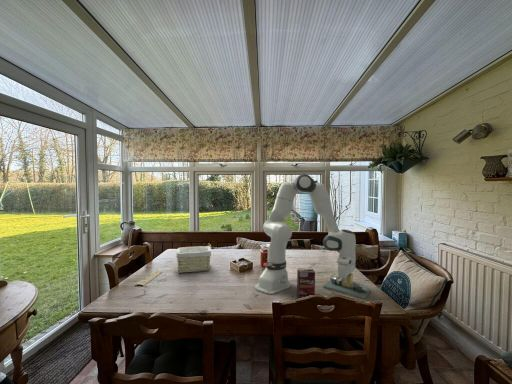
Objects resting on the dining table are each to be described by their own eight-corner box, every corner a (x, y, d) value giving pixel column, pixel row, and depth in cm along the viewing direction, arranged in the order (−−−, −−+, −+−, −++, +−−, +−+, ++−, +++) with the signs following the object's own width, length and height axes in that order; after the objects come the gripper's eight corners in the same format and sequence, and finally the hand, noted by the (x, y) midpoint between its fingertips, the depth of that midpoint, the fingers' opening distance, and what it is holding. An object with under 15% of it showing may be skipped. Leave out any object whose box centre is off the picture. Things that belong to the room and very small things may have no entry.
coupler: (341, 284, 137) (341, 273, 137) (344, 282, 140) (344, 271, 140) (350, 287, 134) (350, 275, 134) (352, 284, 137) (352, 273, 137)
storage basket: (209, 264, 181) (209, 245, 181) (211, 271, 166) (211, 250, 165) (177, 266, 175) (177, 247, 175) (176, 274, 159) (176, 253, 159)
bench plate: (364, 299, 125) (364, 297, 125) (323, 287, 139) (323, 285, 139) (370, 290, 135) (370, 289, 135) (331, 280, 149) (331, 279, 149)
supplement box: (298, 302, 121) (299, 272, 121) (296, 298, 126) (296, 269, 125) (315, 302, 121) (315, 272, 121) (312, 297, 126) (312, 268, 126)
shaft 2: (368, 291, 132) (368, 283, 132) (366, 294, 128) (366, 286, 128) (354, 287, 137) (354, 280, 137) (352, 290, 133) (352, 283, 133)
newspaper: (143, 287, 141) (143, 284, 141) (132, 286, 142) (132, 283, 142) (162, 272, 164) (162, 270, 164) (153, 272, 165) (153, 270, 165)
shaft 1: (343, 285, 140) (343, 278, 140) (337, 286, 138) (338, 279, 138) (334, 280, 147) (334, 274, 147) (328, 282, 145) (328, 275, 145)
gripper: (347, 252, 147) (347, 274, 147) (335, 260, 131) (335, 285, 131) (358, 254, 143) (357, 276, 143) (347, 263, 127) (347, 288, 127)
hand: (347, 281), depth 137 cm, fingers closed on coupler, 4 cm apart
